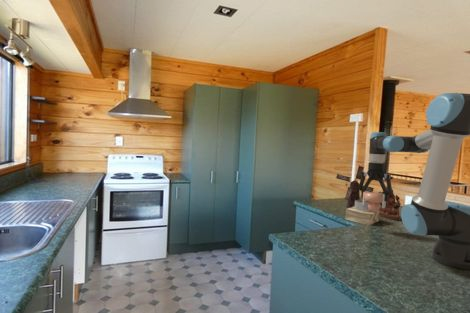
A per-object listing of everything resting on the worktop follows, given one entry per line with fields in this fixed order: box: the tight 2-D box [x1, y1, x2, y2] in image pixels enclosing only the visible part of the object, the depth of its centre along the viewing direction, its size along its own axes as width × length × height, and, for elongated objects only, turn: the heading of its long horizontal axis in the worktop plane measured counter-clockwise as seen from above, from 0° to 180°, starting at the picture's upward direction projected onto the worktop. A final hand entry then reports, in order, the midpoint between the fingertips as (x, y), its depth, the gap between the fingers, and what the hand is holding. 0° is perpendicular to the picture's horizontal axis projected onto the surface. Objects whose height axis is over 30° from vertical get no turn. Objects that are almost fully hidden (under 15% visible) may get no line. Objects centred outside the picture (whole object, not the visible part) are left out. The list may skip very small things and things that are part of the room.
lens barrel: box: [354, 199, 370, 212], centre depth 167 cm, size 8×8×5 cm
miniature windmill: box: [335, 165, 375, 209], centre depth 195 cm, size 25×11×30 cm, turn 62°
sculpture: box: [378, 186, 402, 222], centre depth 176 cm, size 17×8×20 cm, turn 22°
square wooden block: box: [344, 206, 381, 226], centre depth 168 cm, size 14×14×6 cm
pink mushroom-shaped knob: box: [365, 191, 384, 212], centre depth 148 cm, size 9×9×9 cm
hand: (373, 205), depth 148 cm, fingers closed on pink mushroom-shaped knob, 9 cm apart
